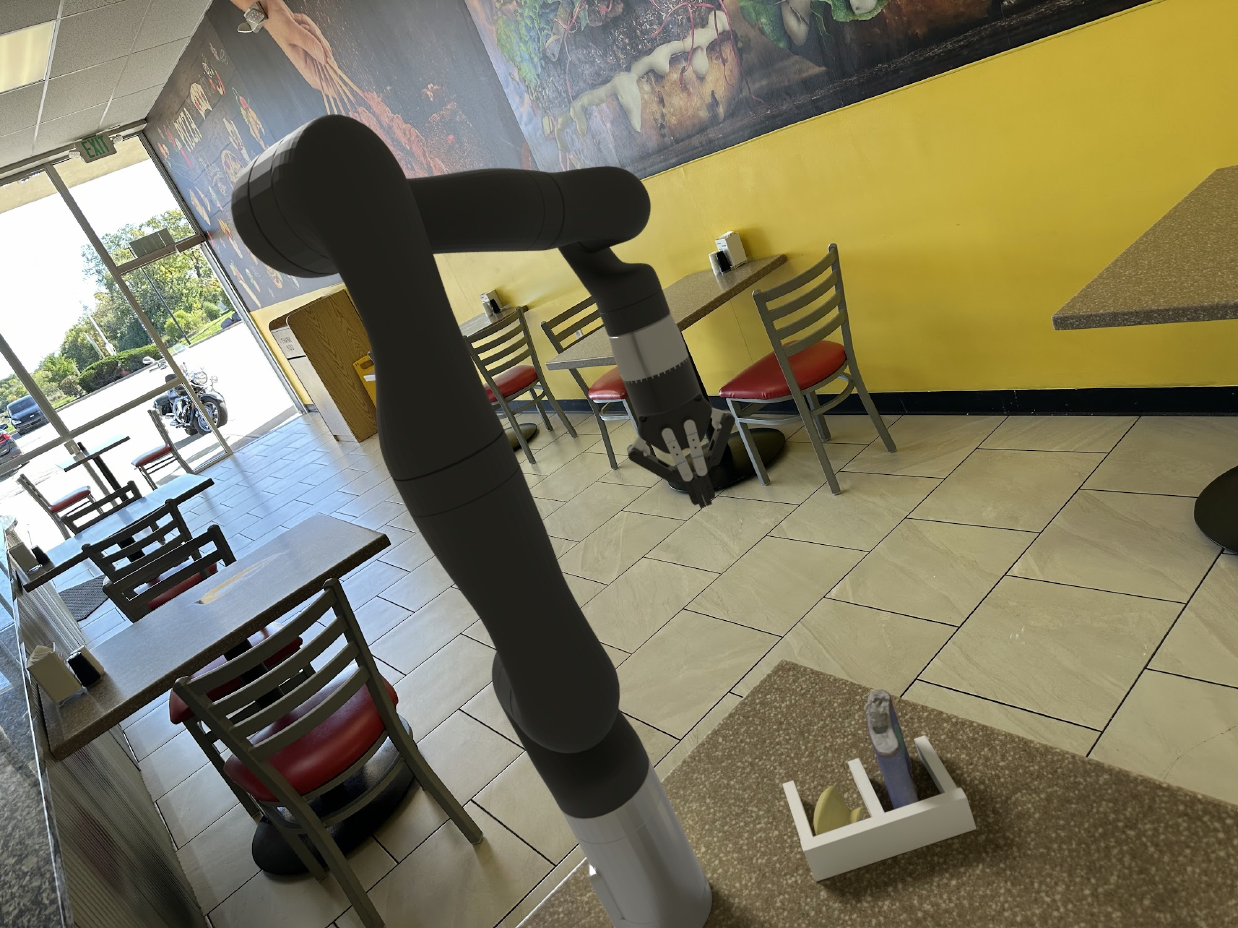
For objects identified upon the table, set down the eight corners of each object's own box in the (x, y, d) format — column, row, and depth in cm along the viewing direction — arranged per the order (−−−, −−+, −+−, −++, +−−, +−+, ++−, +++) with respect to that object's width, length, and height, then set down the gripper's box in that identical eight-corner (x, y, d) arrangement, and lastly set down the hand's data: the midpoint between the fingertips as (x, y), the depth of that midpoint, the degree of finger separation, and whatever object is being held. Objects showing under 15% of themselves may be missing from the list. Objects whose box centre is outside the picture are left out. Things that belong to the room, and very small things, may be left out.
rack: (815, 881, 74) (803, 851, 73) (789, 801, 84) (778, 773, 83) (976, 828, 73) (966, 796, 72) (930, 753, 83) (921, 723, 81)
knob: (813, 849, 78) (798, 812, 76) (830, 807, 81) (816, 771, 80) (860, 859, 75) (845, 821, 73) (875, 816, 78) (861, 778, 77)
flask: (925, 821, 76) (895, 736, 72) (893, 825, 77) (863, 741, 73) (910, 751, 84) (883, 671, 81) (882, 755, 85) (855, 677, 82)
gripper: (596, 394, 81) (654, 537, 87) (717, 347, 80) (768, 495, 86) (595, 378, 89) (648, 511, 94) (706, 335, 88) (753, 472, 93)
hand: (705, 503), depth 90 cm, fingers closed
